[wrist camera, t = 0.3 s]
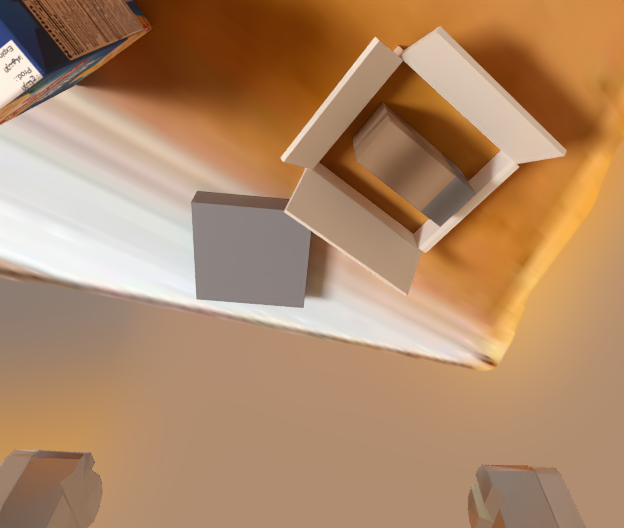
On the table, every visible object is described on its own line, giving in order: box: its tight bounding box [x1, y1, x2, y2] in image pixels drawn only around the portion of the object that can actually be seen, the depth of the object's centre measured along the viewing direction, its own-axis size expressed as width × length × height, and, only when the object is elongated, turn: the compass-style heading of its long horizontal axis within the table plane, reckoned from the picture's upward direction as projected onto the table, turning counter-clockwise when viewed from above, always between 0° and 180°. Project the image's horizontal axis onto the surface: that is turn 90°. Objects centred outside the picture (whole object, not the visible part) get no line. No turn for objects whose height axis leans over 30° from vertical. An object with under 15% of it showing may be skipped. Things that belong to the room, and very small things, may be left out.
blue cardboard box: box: [0, 0, 153, 125], centre depth 38 cm, size 7×11×22 cm, turn 120°
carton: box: [281, 26, 567, 296], centre depth 50 cm, size 21×22×9 cm
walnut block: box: [352, 102, 476, 227], centre depth 51 cm, size 12×5×7 cm, turn 52°
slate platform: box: [191, 191, 311, 308], centre depth 60 cm, size 14×14×3 cm
